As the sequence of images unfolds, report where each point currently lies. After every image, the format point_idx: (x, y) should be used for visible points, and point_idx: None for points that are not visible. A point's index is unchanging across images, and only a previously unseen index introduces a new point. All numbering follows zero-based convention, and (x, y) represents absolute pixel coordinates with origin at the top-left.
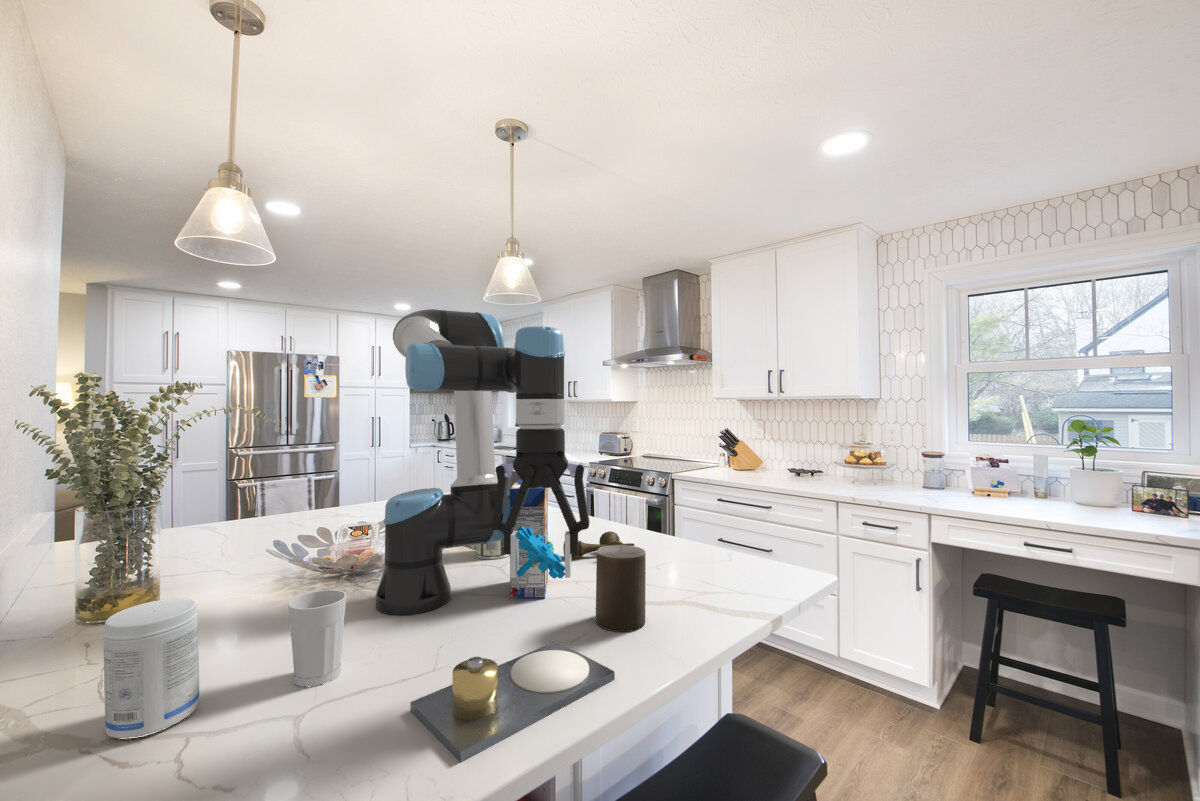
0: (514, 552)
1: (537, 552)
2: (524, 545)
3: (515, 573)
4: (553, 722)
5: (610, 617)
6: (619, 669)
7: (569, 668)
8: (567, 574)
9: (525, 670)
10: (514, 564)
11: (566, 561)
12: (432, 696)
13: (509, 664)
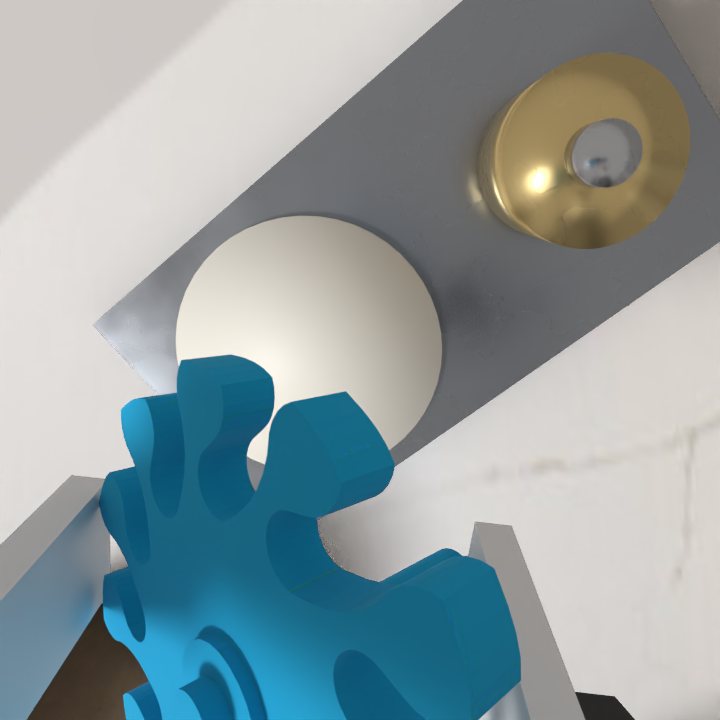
0: (530, 677)
1: (267, 569)
2: (429, 580)
3: (482, 542)
4: (295, 97)
5: (98, 643)
6: (89, 376)
7: (242, 349)
8: (78, 489)
9: (392, 351)
10: (504, 590)
11: (28, 554)
12: (698, 232)
13: (448, 405)
